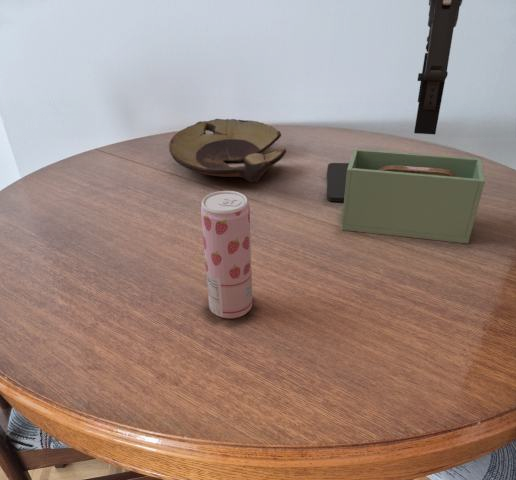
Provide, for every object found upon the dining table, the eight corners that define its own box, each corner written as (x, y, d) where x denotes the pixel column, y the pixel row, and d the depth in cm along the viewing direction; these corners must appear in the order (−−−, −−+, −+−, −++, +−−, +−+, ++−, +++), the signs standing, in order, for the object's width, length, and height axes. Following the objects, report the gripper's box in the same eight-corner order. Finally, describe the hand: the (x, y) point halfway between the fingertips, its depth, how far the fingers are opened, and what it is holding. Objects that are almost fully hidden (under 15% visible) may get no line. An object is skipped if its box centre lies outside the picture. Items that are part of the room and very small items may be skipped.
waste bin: (466, 218, 89) (481, 158, 82) (468, 243, 83) (485, 181, 76) (348, 206, 93) (353, 148, 86) (341, 230, 87) (347, 169, 80)
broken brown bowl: (280, 141, 116) (281, 103, 111) (293, 204, 94) (294, 161, 89) (176, 144, 116) (172, 106, 111) (163, 208, 93) (157, 165, 88)
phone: (326, 197, 94) (327, 162, 105) (326, 201, 94) (327, 166, 105) (370, 198, 93) (366, 163, 104) (369, 203, 93) (365, 167, 105)
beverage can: (256, 316, 70) (254, 208, 60) (212, 322, 69) (203, 214, 59) (247, 291, 74) (244, 187, 64) (206, 297, 73) (196, 192, 63)
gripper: (426, -79, 73) (403, 89, 87) (420, -64, 55) (392, 146, 68) (485, -80, 71) (452, 91, 85) (499, -65, 53) (455, 150, 67)
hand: (425, 116), depth 77 cm, fingers open, 13 cm apart
